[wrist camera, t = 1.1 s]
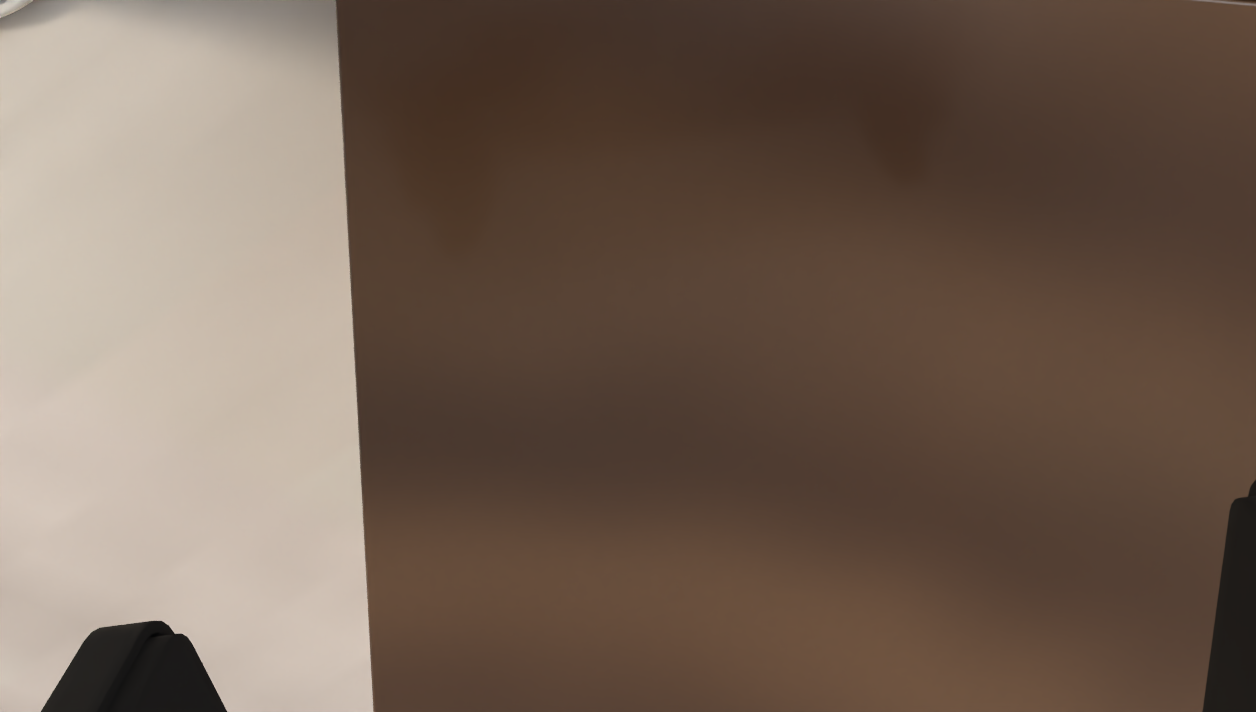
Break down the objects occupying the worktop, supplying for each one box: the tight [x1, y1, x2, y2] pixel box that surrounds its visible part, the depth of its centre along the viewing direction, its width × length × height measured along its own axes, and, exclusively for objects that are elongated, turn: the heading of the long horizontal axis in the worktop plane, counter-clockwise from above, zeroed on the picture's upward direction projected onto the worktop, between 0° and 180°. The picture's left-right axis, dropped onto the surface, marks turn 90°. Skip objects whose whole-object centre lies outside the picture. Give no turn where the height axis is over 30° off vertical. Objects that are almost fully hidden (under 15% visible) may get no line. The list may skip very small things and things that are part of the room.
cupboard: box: [336, 0, 1256, 712], centre depth 28 cm, size 18×26×24 cm
